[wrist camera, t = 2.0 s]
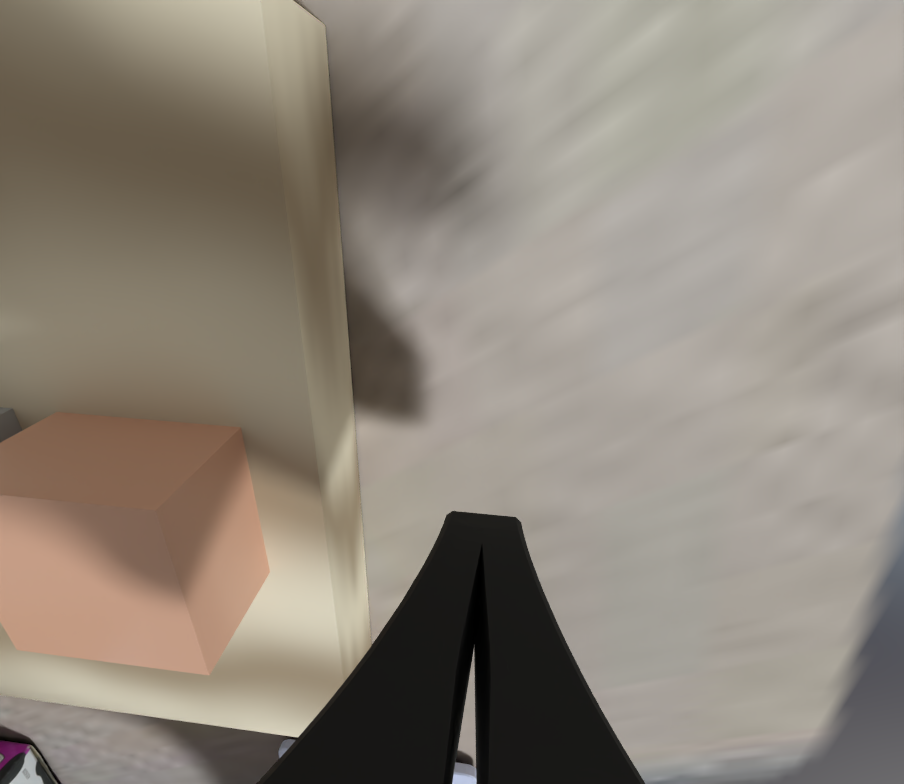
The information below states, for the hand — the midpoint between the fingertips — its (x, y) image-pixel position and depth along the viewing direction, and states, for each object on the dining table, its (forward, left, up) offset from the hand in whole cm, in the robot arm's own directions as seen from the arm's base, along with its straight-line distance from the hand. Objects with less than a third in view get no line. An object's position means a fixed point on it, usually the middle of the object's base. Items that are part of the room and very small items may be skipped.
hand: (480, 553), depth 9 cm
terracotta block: (0, +7, -1) cm, 7 cm away
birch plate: (0, +10, -3) cm, 10 cm away
